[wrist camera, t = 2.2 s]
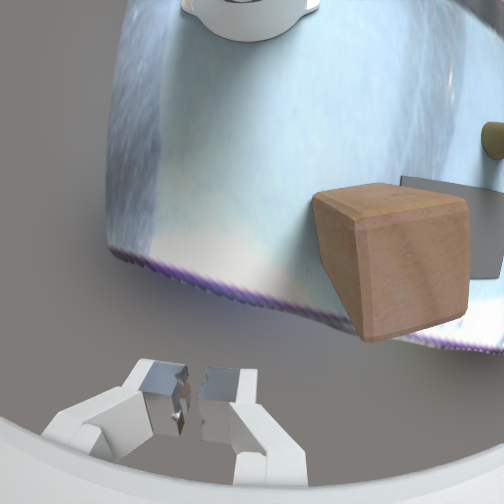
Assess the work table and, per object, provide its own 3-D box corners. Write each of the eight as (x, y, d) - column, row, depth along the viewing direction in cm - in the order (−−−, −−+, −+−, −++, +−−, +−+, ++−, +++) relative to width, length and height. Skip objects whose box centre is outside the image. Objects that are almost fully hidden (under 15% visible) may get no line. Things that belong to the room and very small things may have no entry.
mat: (401, 175, 36) (402, 175, 36) (510, 194, 35) (511, 194, 35) (390, 276, 40) (391, 277, 39) (497, 277, 39) (498, 278, 38)
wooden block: (382, 181, 37) (473, 195, 17) (390, 254, 39) (470, 319, 20) (309, 193, 38) (349, 216, 18) (321, 268, 40) (361, 351, 21)
